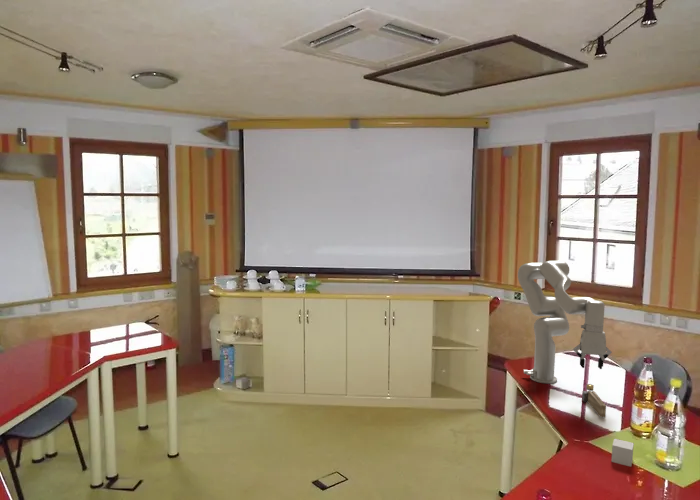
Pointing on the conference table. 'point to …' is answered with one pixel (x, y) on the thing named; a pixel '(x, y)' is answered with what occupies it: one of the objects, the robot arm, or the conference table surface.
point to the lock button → (590, 387)
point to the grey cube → (622, 452)
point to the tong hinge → (585, 396)
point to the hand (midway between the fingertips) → (591, 367)
